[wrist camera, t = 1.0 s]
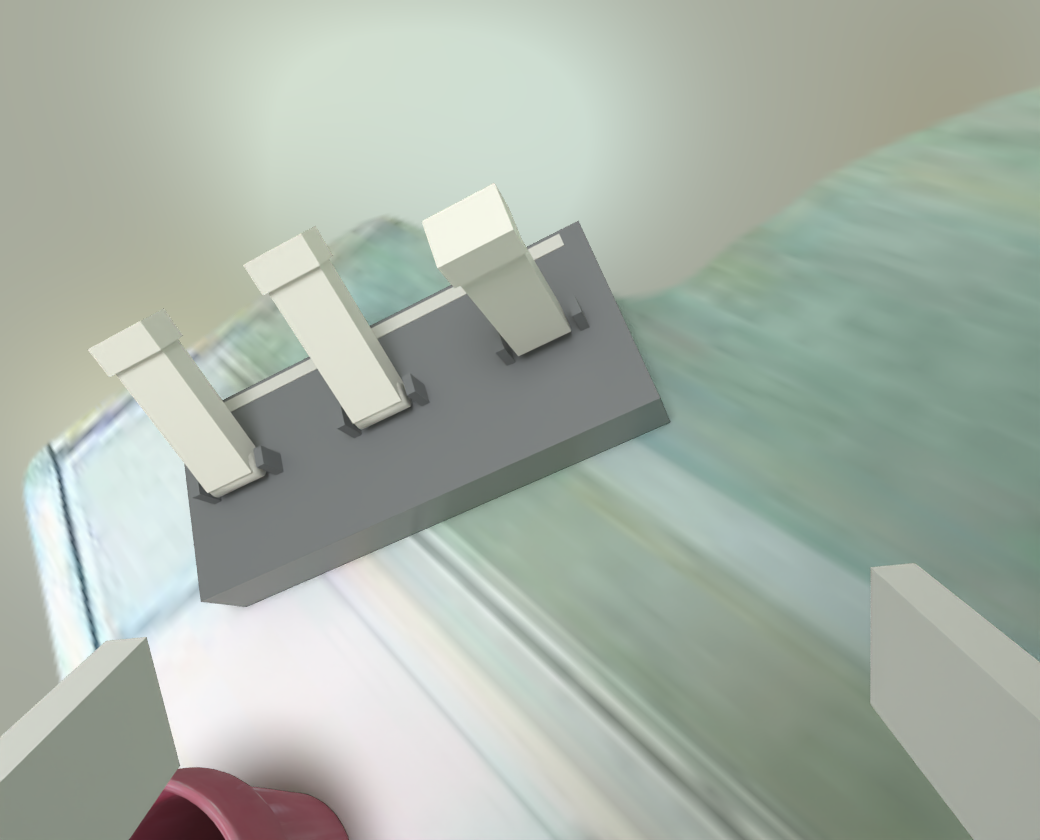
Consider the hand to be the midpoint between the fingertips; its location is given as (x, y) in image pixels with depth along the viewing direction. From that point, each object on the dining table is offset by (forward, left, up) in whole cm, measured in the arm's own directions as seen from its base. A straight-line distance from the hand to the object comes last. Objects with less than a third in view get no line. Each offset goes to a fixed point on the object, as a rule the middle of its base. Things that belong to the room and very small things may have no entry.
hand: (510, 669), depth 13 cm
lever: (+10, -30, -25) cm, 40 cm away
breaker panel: (0, -24, -30) cm, 39 cm away
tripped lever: (-10, -18, -25) cm, 32 cm away
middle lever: (0, -24, -25) cm, 34 cm away
